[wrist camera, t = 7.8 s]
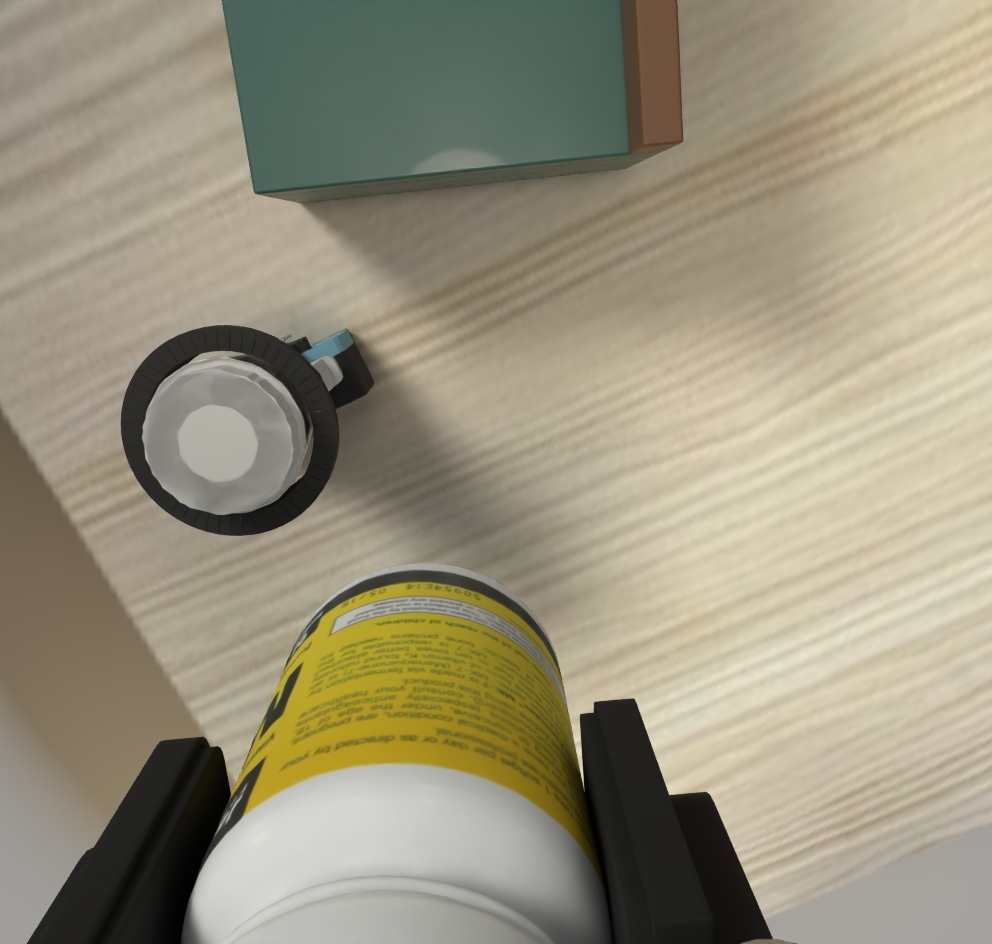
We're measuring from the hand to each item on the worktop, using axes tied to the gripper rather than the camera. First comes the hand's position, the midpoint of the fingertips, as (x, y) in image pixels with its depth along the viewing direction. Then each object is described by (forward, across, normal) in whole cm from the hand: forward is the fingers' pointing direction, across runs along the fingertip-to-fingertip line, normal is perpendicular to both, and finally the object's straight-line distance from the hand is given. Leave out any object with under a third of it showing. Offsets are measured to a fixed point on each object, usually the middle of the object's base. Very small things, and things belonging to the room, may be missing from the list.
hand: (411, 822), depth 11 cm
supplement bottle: (+4, 0, 0) cm, 4 cm away
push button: (+20, +6, -3) cm, 21 cm away
